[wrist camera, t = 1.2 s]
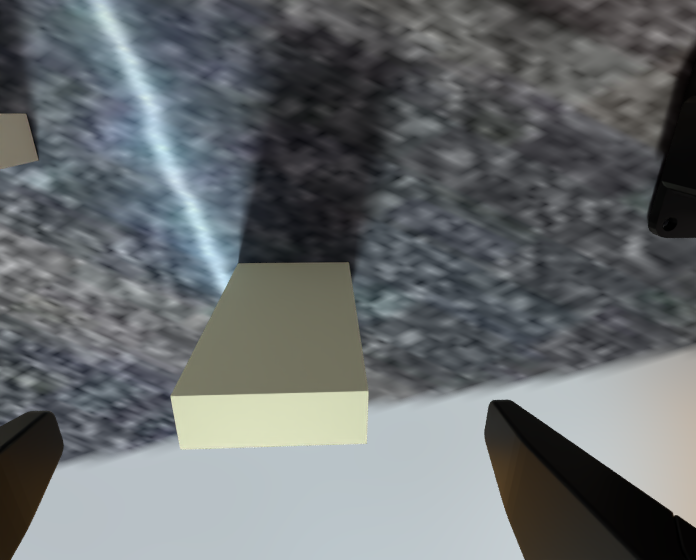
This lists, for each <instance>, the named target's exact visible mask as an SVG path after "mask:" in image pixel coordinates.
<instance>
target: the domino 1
mask: <svg viewBox="0 0 696 560" xmlns="http://www.w3.org/2000/svg"><path fill="white" fill-rule="evenodd" d="M34 161H38V156H37V152H36V149H35V145H34V141H33V137H32V134H31V130H30V126H29V122H28V119H27V115H26V114H2V113H0V169H3V168H8V167H12V166H17V165H21V164H25V163H30V162H34Z"/></svg>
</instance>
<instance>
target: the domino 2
mask: <svg viewBox="0 0 696 560" xmlns="http://www.w3.org/2000/svg"><path fill="white" fill-rule="evenodd" d="M171 402H172V407H173V412H174V418H175V423H176V428H177V434H178V439H179V444H180V449H211V448H243V447H275V446H302V445H303V446H305V445H306V446H307V445H337V444H366V443H367V419H368V385H367V379H366V372H365V365H364V359H363V352H362V346H361V339H360V332H359V326H358V319H357V313H356V306H355V300H354V293H353V286H352V280H351V273H350V267H349V262H326V263H238V265H237V266H236V268H235V270H234V272H233V274H232V276H231V278H230V280H229V282H228V284H227V286H226V288H225V290H224V292H223V294H222V296H221V298H220V300H219V302H218V304H217V306H216V308H215V310H214V312H213V314H212V316H211V318H210V320H209V322H208V324H207V325H206V327H205V329H204V331H203V333H202V335H201V337H200V339H199V341H198V343H197V345H196V347H195V349H194V351H193V353H192V355H191V357H190V359H189V361H188V363H187V365H186V367H185V369H184V371H183V373H182V375H181V377H180V379H179V381H178V382H177V384H176V386H175V388H174V390H173V392H172V394H171Z"/></svg>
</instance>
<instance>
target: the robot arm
mask: <svg viewBox="0 0 696 560" xmlns="http://www.w3.org/2000/svg"><path fill="white" fill-rule="evenodd" d="M668 218H669V222H668V224H667V225H666V226H664V227H663V223H664V222H665V220H667V219H668ZM648 228H649V230H650V231H651V232H652V233H653V234H655V235H658V236H660V237H664V238H696V60H695V63H694V67H693V70H692V74H691V77H690V80H689V84H688V87H687V91H686V94H685V98H684V101H683V105H682V108H681V111H680V115H679V118H678V122H677V125H676V129H675V132H674V136H673V139H672V142H671V146H670V149H669V153H668V156H667V160H666V163H665V166H664V170H663V173H662V177H661V180H660V184H659V187H658V191H657V194H656V197H655V201H654V204H653V208H652V211H651V215H650V218H649V222H648ZM484 435H485V442H486V445H487V449H488V453H489V456H490V460H491V463H492V466H493V470H494V474H495V477H496V481H497V484H498V487H499V491H500V495H501V498H502V501H503V505H504V508H505V511H506V514H507V516H508V519H509V522H510V524H511V527H512V529H513V532H514V534H515V537H516V539H517V542H518V544H519V547H520V549H521V552H522V554H523V557H524V559H525V560H696V528H695V527H694V526H692V525H691V524H689V523H688V522H686V521H685V520H683V519H682V518H680V517H679V516H678V515H675V516H674V515H673V512H671V511H670V510H669V509H667V508H666V507H665V506H663V505H662V504H660V503H659V502H657V501H656V500H654V499H653V498H651V497H650V496H649V495H647V494H646V493H644V492H643V491H641V490H640V489H639V488H637V487H635V486H634V485H632V484H631V483H630V482H628V481H627V480H626V479H624V478H623V477H621V476H620V475H618V474H617V473H615V472H614V471H613V470H611V469H610V468H608V467H607V466H605V465H604V464H602V463H601V462H600V461H598V460H597V459H595V458H594V457H592V456H591V455H589V454H588V453H587V452H585V451H584V450H582V449H581V448H579V447H578V446H576V445H575V444H574V443H572V442H571V441H569V440H568V439H566V438H565V437H563V436H562V435H561V434H559V433H557V432H556V431H554V430H553V429H552V428H550V427H549V426H548V425H546V424H545V423H543V422H542V421H540V420H539V419H537V418H536V417H534V416H533V415H532V414H530V413H529V412H527V411H526V410H524V409H523V408H522V407H520V406H519V405H517V404H516V403H514V402H513V401H511V400H493V401H491V402H490V404H489V407H488V413H487V420H486V425H485V432H484ZM63 447H64V444H63V439H62V436H61V433H60V430H59V426H58V423H57V420H56V417H55V415H54V414H53V413H52V412H50V411H30V412H27V413H25V414H23V415H21V416H19V417H17V418H15V419H13V420H12V421H10V422H8V423H6V424H4V425H2V426H0V560H11V558H12V557H13V555H14V553H15V551H16V550H17V548H18V546H19V544H20V543H21V541H22V539H23V537H24V535H25V533H26V532H27V530H28V527H29V526H30V523H31V521H32V519H33V517H34V515H35V513H36V511H37V508H38V506H39V504H40V502H41V500H42V498H43V495H44V493H45V491H46V489H47V486H48V484H49V482H50V479H51V477H52V475H53V473H54V471H55V469H56V466H57V464H58V462H59V460H60V458H61V455H62V452H63Z"/></svg>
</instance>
